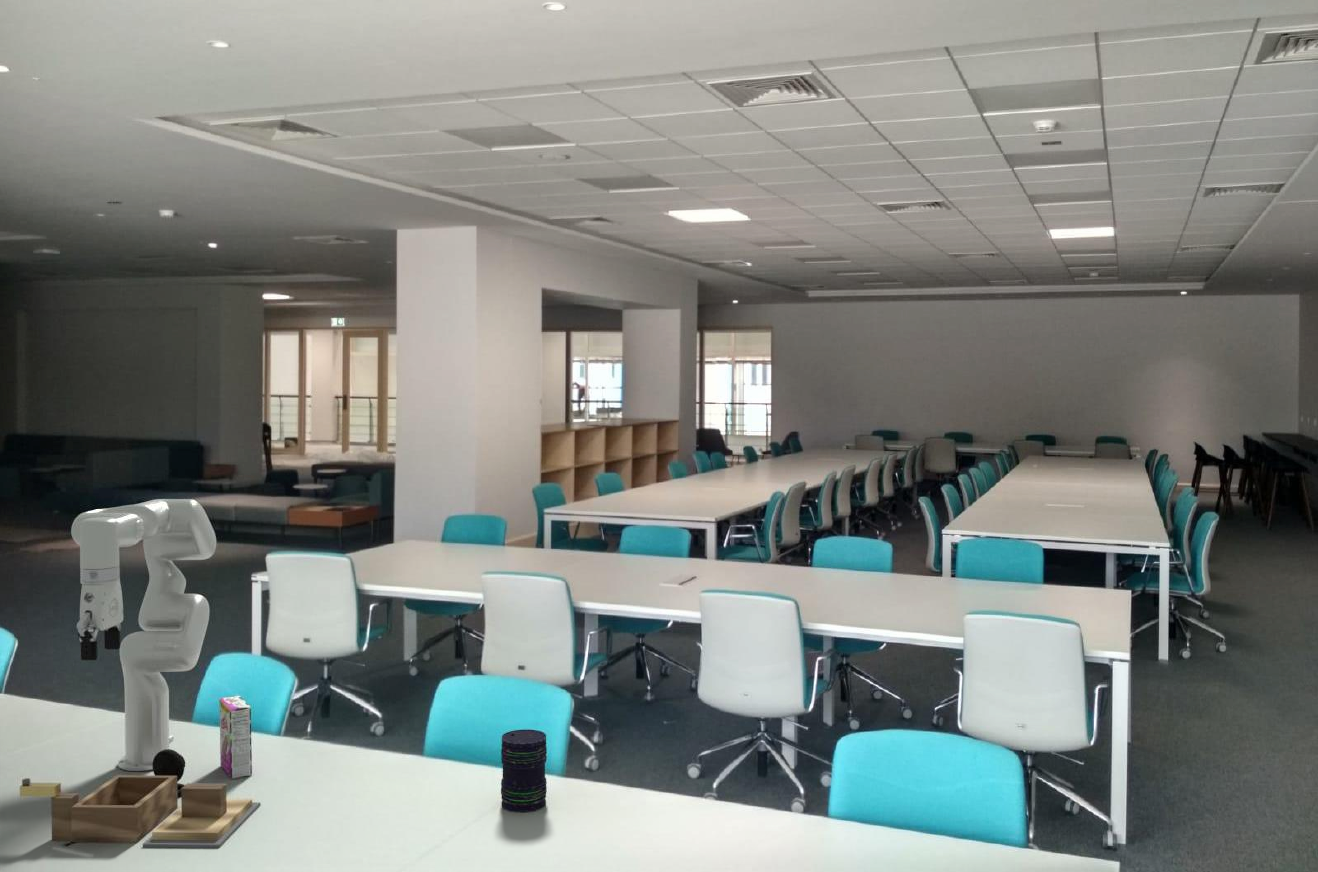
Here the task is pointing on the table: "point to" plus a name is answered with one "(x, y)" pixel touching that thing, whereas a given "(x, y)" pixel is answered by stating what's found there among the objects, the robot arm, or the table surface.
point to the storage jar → (523, 771)
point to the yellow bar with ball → (39, 789)
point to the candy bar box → (235, 737)
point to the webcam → (169, 766)
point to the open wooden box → (115, 810)
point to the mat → (203, 842)
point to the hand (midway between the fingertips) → (101, 654)
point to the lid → (202, 814)
